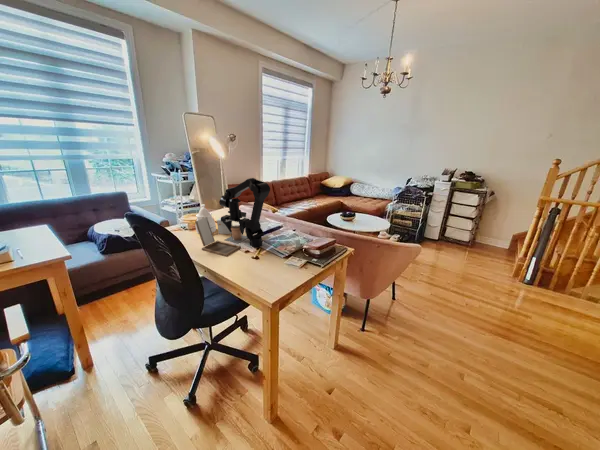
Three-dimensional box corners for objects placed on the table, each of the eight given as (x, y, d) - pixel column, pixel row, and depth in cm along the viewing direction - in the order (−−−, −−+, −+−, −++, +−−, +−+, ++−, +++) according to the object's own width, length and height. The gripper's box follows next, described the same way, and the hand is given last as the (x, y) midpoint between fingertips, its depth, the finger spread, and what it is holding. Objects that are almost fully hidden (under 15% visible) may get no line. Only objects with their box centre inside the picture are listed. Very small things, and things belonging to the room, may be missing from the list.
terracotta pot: (244, 237, 153) (243, 226, 151) (237, 241, 148) (236, 229, 146) (236, 235, 156) (235, 224, 153) (229, 239, 151) (228, 227, 148)
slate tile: (249, 238, 155) (249, 236, 154) (238, 244, 146) (238, 243, 145) (236, 235, 159) (236, 233, 159) (224, 241, 150) (224, 239, 150)
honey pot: (196, 228, 172) (192, 204, 165) (215, 226, 176) (212, 202, 170) (196, 235, 160) (191, 209, 154) (216, 232, 164) (213, 207, 158)
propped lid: (206, 217, 142) (206, 217, 142) (195, 221, 135) (194, 221, 136) (214, 241, 145) (214, 241, 145) (204, 246, 138) (203, 246, 139)
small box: (233, 232, 165) (231, 217, 161) (230, 235, 160) (228, 220, 156) (222, 232, 166) (220, 217, 162) (218, 235, 160) (216, 220, 157)
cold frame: (241, 249, 140) (238, 221, 134) (226, 258, 130) (222, 228, 124) (210, 241, 150) (207, 215, 144) (195, 249, 140) (190, 221, 134)
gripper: (255, 207, 148) (256, 231, 154) (231, 203, 156) (233, 226, 162) (243, 212, 139) (245, 237, 144) (218, 208, 147) (221, 232, 152)
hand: (236, 233), depth 151 cm, fingers open, 9 cm apart
